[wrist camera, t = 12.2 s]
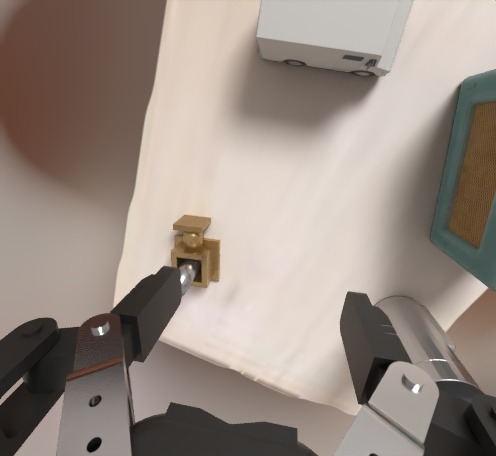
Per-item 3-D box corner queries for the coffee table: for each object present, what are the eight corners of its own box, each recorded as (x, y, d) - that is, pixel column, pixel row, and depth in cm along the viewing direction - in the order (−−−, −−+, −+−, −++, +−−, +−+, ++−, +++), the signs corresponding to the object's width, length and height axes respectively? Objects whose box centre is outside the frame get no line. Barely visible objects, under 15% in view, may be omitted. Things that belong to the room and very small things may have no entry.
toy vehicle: (379, 83, 36) (411, 67, 26) (258, 64, 37) (247, 43, 28) (404, 6, 32) (450, -42, 23) (269, -11, 34) (262, -64, 25)
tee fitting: (220, 219, 47) (212, 229, 42) (219, 279, 52) (212, 294, 47) (175, 213, 48) (162, 223, 43) (178, 273, 53) (167, 287, 48)
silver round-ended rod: (204, 252, 49) (185, 281, 40) (204, 267, 51) (186, 298, 41) (188, 250, 50) (165, 278, 41) (188, 265, 51) (166, 295, 42)
